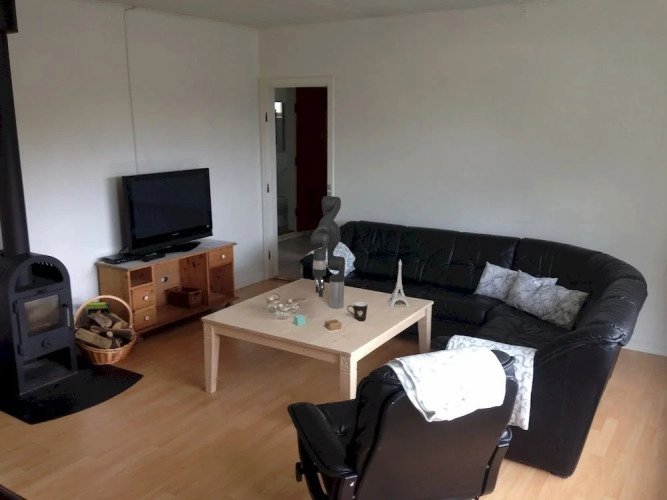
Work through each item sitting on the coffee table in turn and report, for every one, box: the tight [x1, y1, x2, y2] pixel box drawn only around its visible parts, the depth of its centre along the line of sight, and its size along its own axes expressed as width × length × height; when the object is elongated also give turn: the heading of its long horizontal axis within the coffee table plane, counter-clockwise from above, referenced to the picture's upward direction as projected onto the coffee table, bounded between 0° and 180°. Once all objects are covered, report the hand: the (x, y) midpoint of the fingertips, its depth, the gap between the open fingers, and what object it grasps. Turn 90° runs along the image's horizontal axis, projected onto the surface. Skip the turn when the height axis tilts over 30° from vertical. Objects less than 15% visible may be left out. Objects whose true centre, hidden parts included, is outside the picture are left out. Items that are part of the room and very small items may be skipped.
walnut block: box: [324, 319, 342, 332], centre depth 344 cm, size 7×7×4 cm
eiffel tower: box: [386, 259, 411, 308], centre depth 393 cm, size 13×13×30 cm
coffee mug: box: [346, 301, 369, 322], centre depth 364 cm, size 12×9×10 cm
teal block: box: [293, 314, 306, 327], centre depth 351 cm, size 5×5×6 cm
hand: (319, 294), depth 346 cm, fingers open, 8 cm apart
